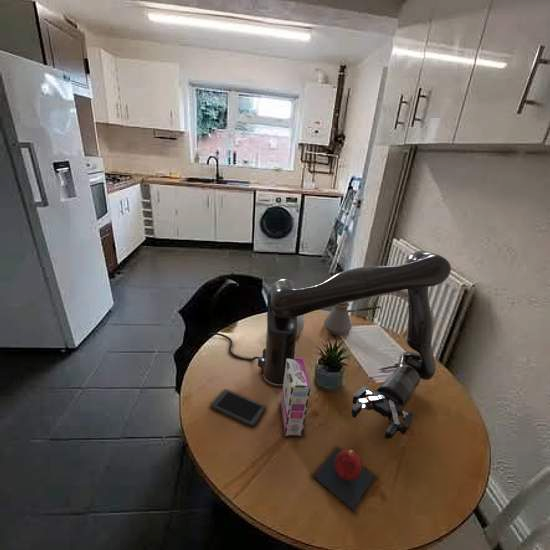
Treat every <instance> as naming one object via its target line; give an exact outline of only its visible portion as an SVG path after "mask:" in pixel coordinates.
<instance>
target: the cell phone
mask: <svg viewBox="0 0 550 550" xmlns="http://www.w3.org/2000/svg"><path fill="white" fill-rule="evenodd" d="M210 407H211V408H212V409H213V410H216V411H218V412H220V413H222V414H224V415H227V416H228V417H231V418H232V419H234V420H237V421H239V422H241V423H243V424H246V425H248V426H249V427H254V426H255V425H256V424H257V422H258V421H259V419H260V418H261V416H262V414H264V411H265V410H266V407H265V406H264V405H263V404H261V403H258V402H256V401H254V400H252V399H249V398H246V397H245V396H242V395H241V394H238V393H235V392H233V391H230V390H228V389H224V390H222V391H221V393H219V395H218V396H217V397H216V398H215V400H214V401H213V402H212V403H211V404H210Z"/></svg>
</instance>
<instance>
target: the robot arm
mask: <svg viewBox="0 0 550 550" xmlns="http://www.w3.org/2000/svg"><path fill="white" fill-rule="evenodd" d="M451 272H452V266H451V263H450V262H449V261H448V260H447V258H445V257H444V256H442V255H440V254H437V253H434V252H431V251H427V250H417V251H414V252H413V253H412V254H411V255H409V257H408V258H407V260H406V263H403V264H398V265H397V264H396V265H366V266H360V267H356V268H355V267H354V268H351V269H350V268H349V269H346V270H343V271H340V272H338V273H336V274H335V275H333V276H331V277H330V278H329V279H327V280H325V281H323V282H322V283H320V284H317V285H314V286H309V287H304V288H299V287H298V285H297V284H296V283H295V282H294V281H293V280H290V279H286V278H282V279H278V280H276V281H275V282H274V283H273V284H272V285H271V286H270V288H269V291H268V297H267V314H266V338H265V339H266V340H265V348H263V349H262V356H253V357H252V358H251V357H250V358H247V357H242V356H239V355H237V354H235V353H233V351H232V346H233V340H232V339H231V338H230V337H229V336H228V335H225V334H223V333H220V332H211V333H209V334H207V336H208V337H211V336H220V337H223V338H225V339H227V340H228V341H229V347H228V353H229V354H230V355H231V356H232V357H234V358H236V359H239V360H242V361H249V362H253V361H255V360H257V367H258V368H260V369H261V372H260V374H261V375H262V377H263V380H264V382H266V383H267V384H268V385H270V386H272V387H283V383H284V375H285V367H286V359H295V354H296V346H297V345H296V344H297V338H298V336H297V330H298V323H297V317H298V316H301V315H304V316H305V315H306V314H309V313H312V312H315V311H320V310H321V309H322V310H323V309H326V308H331V307H334V306H335V305H339V304H343V303H352V302H359V301H363V300H367V299H371V298H374V297H379V296H383V295H388V294H392V293H395V292H401V291H405V290H407V297H408V298H407V300H408V301H407V302H408V317H407V330H406V345H407V346H408V347H409V348H410V349H412V350H414V351H415V352H416V353H415V352H412V351H404V352H402V353H400V356H399V358H398V363H397V367H396V369H395V370H394V371H393V372H392V374H390V375H389V376H388V377H387V378H386V379H385V380H384V382H383V383H382V384H381V385H380V386H379V387H378V388H377V390H376V391H373V392H372V391H370V390H369V387H368V386H367V385H362V387H361V388H360V389H359V390H357V391H356V392H355V393H354V394H353V397H352V404H353V405H354V406H353V407H352V408H351V417H353V418H354V419H356V417H357V416H358V415H359V414H360V413H361V411H362V410H367V411H374V412H375V413H378V414H380V415H381V416H382V417H384V418H387V420H388V424H389V427H388V428H387V429H386V430H385V433H384V439H386V440H388V439H389V440H390V439H393V437H394V435H396V433H397V432H400V434H401V435H403V436H405V435H406V434H407V432H408V431H409V428H410V426H411V424H412V421H413V419H414V415H415V413H414V412H412V411H409V412H406V411H405V410H404V408H405V407H406V405H407V404H408V402H409V401H410V400H411V398H412V396H413V395H414V392H415V390H416V389H417V387H418V386H419V385H420V382H421V380H422V381H423V380H424V381H429V380H431V379H432V378H434V376H435V374H436V362H435V358H434V354H433V347H432V341H433V332H434V320H433V315H432V314H433V313H432V309H431V305H430V297H429V288H430V287H436V286H438V285H440V284H443V283H444V282H445V281H446V280H447V279H448V278H449V277H450V275H451ZM400 416H401V417H402V420H403V423H401V422H400V420H399V418H398V417H400Z"/></svg>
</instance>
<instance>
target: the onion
mask: <svg viewBox="0 0 550 550" xmlns="http://www.w3.org/2000/svg"><path fill="white" fill-rule="evenodd" d="M340 451H341V452H339V453H338V454H337V456H336V459H335V469H336V472H337V473H338V475H339V476H340V477H341V478H342V479H344V480H346V481H351V480H355V479H356V478H357V477H358V476H359V474H360V471H361V467H362V463H361V459H360V457H359V455H358V454H357V453H356V452H355V451H354V450H353V449H343V450H340Z"/></svg>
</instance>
